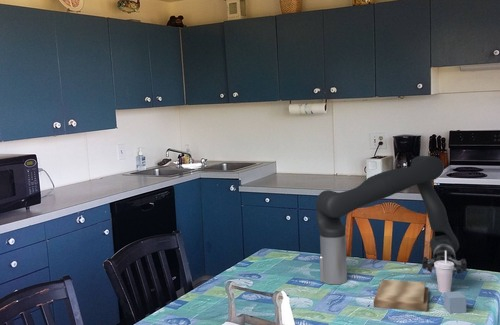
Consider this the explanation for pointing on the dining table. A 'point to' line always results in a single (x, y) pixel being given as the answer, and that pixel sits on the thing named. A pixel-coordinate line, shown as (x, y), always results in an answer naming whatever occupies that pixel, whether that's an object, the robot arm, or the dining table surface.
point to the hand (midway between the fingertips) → (444, 270)
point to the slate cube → (454, 302)
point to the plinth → (401, 304)
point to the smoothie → (444, 274)
